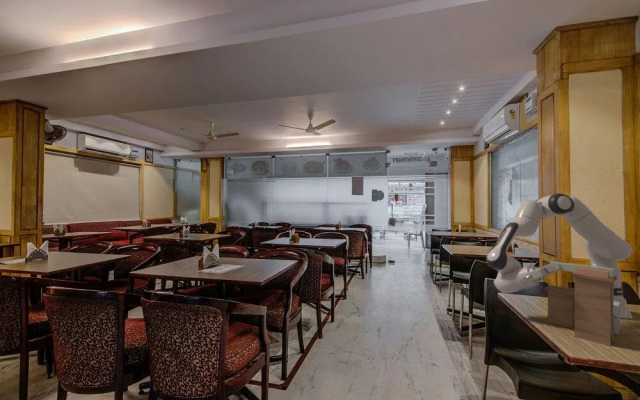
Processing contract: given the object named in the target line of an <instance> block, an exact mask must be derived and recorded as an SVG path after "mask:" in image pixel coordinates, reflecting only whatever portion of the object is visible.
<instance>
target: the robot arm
mask: <svg viewBox="0 0 640 400" xmlns="http://www.w3.org/2000/svg"><path fill="white" fill-rule="evenodd" d="M557 216H561V217H563V218H564V220H565V221H566V222H567V223H568V224H569V226H571V228H573V230H574V231H575V232H576V233H577V234H578V235H579V236H580V237H582V238H583V239H584V243H583V244H584V249H585V250H586V251H587V254H588V257H589V260H590V266H594V267H602V268H611V269H615V276H617V280H616V281H614V301H615V302H620V319H628V320H629V319H630V320H633V319H634V318H633V314H632V313H631V310H630V309H629V307H628V306H627V299H626V298H625V297H624V296H623V295H624V287H623V286H622V271H621V268H620V267H619V265H618V263H617V261H620V260H621V261H622V260H626V259H628V258H629V257H630V256H631V255H632V253H633V247H632V246H631V244H630V243H629V242H628V241H626V240H625V239H623V238H621V237H620V236H619V234H616V233H615V232H614V231H612V229H610V228H609V227H608V226H607V225H605V224H604V223H603V222H602V221H601V220H600V219H599V218H598V217H597V216H596V215H595V213H593V212H592V210H591V209H590V208H589V207H588V206H587V205H586V204H585V203H583V201H581V200H580V199H578V198H577V197H575V196H569V195H567V194H565V193H561V192H560V193H553V194H550V195H545V196H544V197H541V198H538V199H536V200H532V199H531V200H529V199H528V200H524V201H523V202H522V203H521V205H520V207H519V208H518V209H517V212H516V213H515V215H514V218H513V220H512V221H511V222H509V223H508V224H506V226H505V227H504V228H503V229H502V231H501V234H499V237H498V238H497V240H496V242H495V244H494V245H493V246H492V247H491V249H490V250H489V251H488V252H487V254H486V256H485V257H486V258H485V262H486V265H487V266H488V267H489V268H491V269H493V270H495V271H497V275H496V278H495V279H494V280H493V284H494V287H495V288H496V289H497V290H498V291H499V292H501V293H502V294H504V295H505V294H506V295H507V294H513V293H516V292H519V291H521V290H522V289H528V288H531V287H535V286H538V285H539V284H540V282H541V281H542V280H543V279H544V278H546V277H549V275H552V274H554V273H557V272H558V271H559V270H556V269H559V268H561V267H560V265H559V264H557V265H554V266H550V263H549V264H545V265H542V266H530V265H527V266H524V267H522V264H521V262H520V261H519V260H517V259H516V258H514V257H513V256H511V255H510V254H509V253H508V250H509V248H510V246H511V244H512V242H513V241H514V239H515V238H516V237H523V238H524V237H525V238H527V237H530V236H532V235H535V233H536V232H537V231H538V228H539V225H540V223H541V220H542V219H549V218H554V217H557Z"/></svg>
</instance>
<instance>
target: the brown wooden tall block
mask: <svg viewBox="0 0 640 400" xmlns="http://www.w3.org/2000/svg"><path fill="white" fill-rule="evenodd" d="M570 277H574V289H575V326H574V337H575V338H577V339H583V340H587V341H590V342H594V343H598V344H603V345H604V346H605V345H606V346H609V347H610V346H611V345H612V344H613V343H614V340H615V339H614V335H615V334H614V281H616V280H617V276H615V277H609V278H601V277H594V276H587V275H580V274H576V272H571V273H570Z"/></svg>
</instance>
